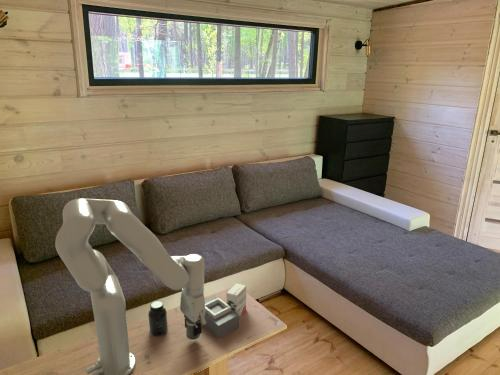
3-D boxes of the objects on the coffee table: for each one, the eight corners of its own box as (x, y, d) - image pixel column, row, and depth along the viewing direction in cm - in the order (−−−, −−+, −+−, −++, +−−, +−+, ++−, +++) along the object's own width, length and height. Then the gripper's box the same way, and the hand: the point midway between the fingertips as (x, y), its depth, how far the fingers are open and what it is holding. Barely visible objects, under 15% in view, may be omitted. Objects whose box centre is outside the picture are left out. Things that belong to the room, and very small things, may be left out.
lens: (191, 341, 136) (191, 323, 133) (183, 334, 139) (183, 316, 137) (202, 335, 139) (202, 317, 137) (194, 328, 143) (195, 310, 140)
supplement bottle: (170, 325, 148) (168, 299, 145) (164, 337, 142) (162, 310, 138) (153, 323, 149) (151, 298, 145) (147, 335, 143) (144, 309, 139)
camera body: (238, 327, 148) (239, 310, 146) (218, 338, 142) (218, 321, 139) (214, 307, 159) (214, 292, 157) (195, 317, 153) (194, 301, 150)
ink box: (236, 305, 161) (236, 282, 157) (246, 309, 159) (246, 285, 155) (226, 316, 154) (226, 292, 150) (236, 320, 152) (236, 296, 148)
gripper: (171, 281, 137) (172, 322, 142) (198, 303, 125) (197, 347, 130) (189, 274, 142) (189, 315, 147) (216, 295, 130) (214, 338, 135)
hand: (193, 329), depth 139 cm, fingers closed on lens, 5 cm apart
